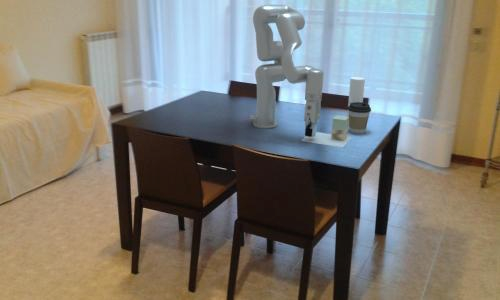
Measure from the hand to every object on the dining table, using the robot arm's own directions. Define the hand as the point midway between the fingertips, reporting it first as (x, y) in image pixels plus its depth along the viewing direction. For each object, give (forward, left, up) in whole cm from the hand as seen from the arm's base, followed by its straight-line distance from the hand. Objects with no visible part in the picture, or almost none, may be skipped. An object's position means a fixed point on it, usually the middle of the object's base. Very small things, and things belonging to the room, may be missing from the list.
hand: (310, 134), depth 225 cm
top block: (+12, +9, +2) cm, 15 cm away
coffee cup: (+17, +24, -5) cm, 29 cm away
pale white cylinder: (0, 0, 0) cm, 0 cm away
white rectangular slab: (+7, +5, -4) cm, 9 cm away
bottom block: (+12, +9, -3) cm, 15 cm away
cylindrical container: (+12, +37, -5) cm, 39 cm away
